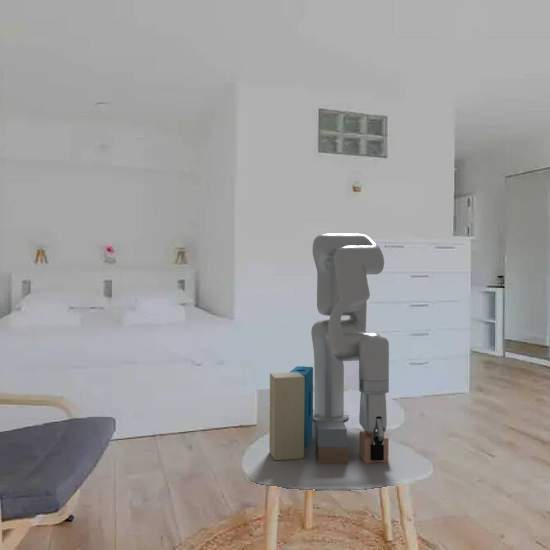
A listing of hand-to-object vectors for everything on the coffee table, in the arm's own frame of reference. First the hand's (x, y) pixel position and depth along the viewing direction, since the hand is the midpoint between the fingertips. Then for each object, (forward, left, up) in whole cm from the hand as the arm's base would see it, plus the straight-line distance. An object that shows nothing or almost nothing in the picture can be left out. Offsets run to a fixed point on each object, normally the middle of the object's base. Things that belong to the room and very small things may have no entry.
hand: (373, 454), depth 138 cm
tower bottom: (0, -11, -1) cm, 11 cm away
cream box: (-4, -22, -1) cm, 22 cm away
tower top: (0, -11, +3) cm, 12 cm away
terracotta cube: (0, 0, -1) cm, 1 cm away
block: (-14, -17, -1) cm, 22 cm away
